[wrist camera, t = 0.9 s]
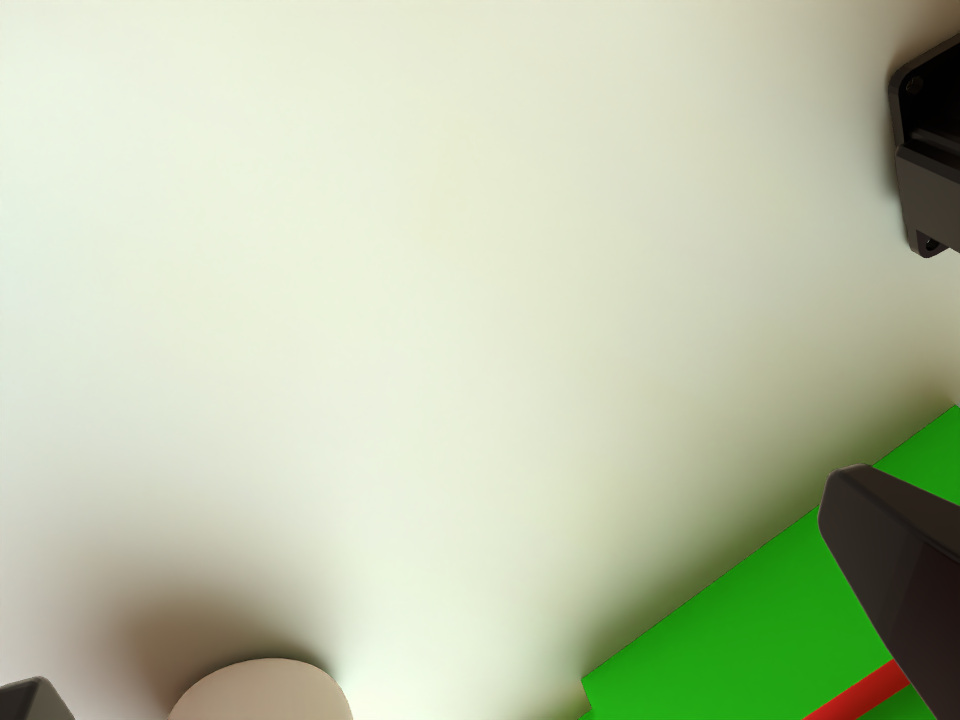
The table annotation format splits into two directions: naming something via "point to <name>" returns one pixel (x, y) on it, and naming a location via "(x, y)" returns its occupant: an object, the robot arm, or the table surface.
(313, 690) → the cup
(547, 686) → the table surface
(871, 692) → the building blocks toy
